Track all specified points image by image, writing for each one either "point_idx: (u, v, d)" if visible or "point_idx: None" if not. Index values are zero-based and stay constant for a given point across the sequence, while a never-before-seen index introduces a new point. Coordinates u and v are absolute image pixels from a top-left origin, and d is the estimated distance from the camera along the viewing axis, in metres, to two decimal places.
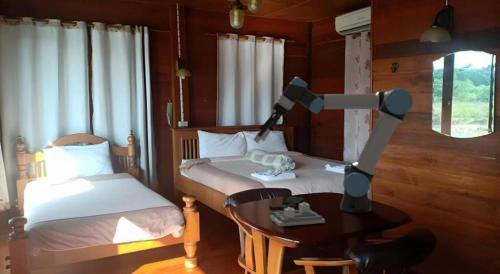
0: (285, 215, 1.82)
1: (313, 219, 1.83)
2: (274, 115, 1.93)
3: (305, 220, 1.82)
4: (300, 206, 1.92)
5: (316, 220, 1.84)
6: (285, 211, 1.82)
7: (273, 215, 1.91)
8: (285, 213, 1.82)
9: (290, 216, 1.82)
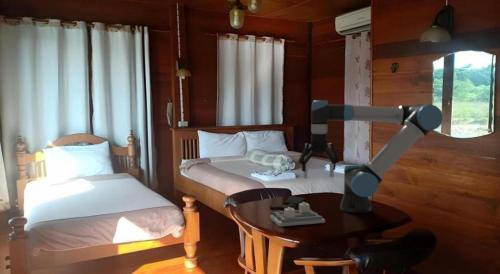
0: (285, 215, 1.82)
1: (313, 219, 1.83)
2: (305, 145, 1.90)
3: (305, 220, 1.82)
4: (300, 206, 1.92)
5: (316, 220, 1.84)
6: (285, 211, 1.82)
7: (273, 215, 1.91)
8: (285, 213, 1.82)
9: (290, 216, 1.82)
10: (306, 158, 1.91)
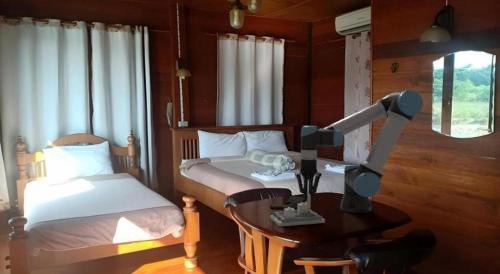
0: (285, 215, 1.82)
1: (313, 219, 1.83)
2: (296, 175, 1.90)
3: (305, 220, 1.82)
4: (298, 206, 1.91)
5: (316, 220, 1.84)
6: (285, 211, 1.82)
7: (273, 215, 1.91)
8: (285, 213, 1.82)
9: (290, 216, 1.82)
10: (304, 188, 1.91)
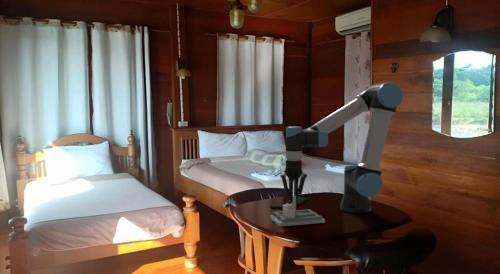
0: (285, 215, 1.82)
1: (313, 219, 1.83)
2: (281, 177, 1.88)
3: (305, 220, 1.82)
4: (284, 207, 1.90)
5: (316, 220, 1.84)
6: (285, 211, 1.82)
7: (273, 215, 1.91)
8: (285, 213, 1.82)
9: (290, 216, 1.82)
10: (290, 189, 1.89)
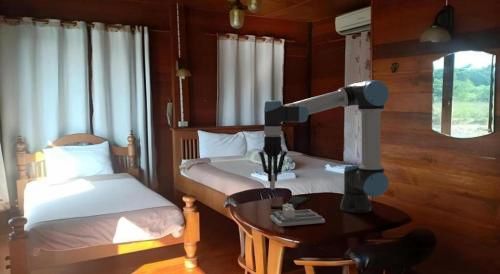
0: (285, 215, 1.82)
1: (313, 219, 1.83)
2: (259, 154, 1.77)
3: (305, 220, 1.82)
4: (284, 207, 1.90)
5: (316, 220, 1.84)
6: (285, 211, 1.82)
7: (273, 215, 1.91)
8: (285, 213, 1.82)
9: (290, 216, 1.82)
10: (268, 167, 1.79)
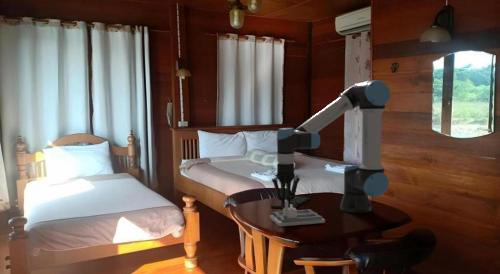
0: None
1: (313, 219, 1.83)
2: (272, 181, 1.80)
3: (305, 220, 1.82)
4: None
5: (316, 220, 1.84)
6: None
7: (273, 215, 1.91)
8: None
9: (292, 216, 1.82)
10: (282, 194, 1.81)
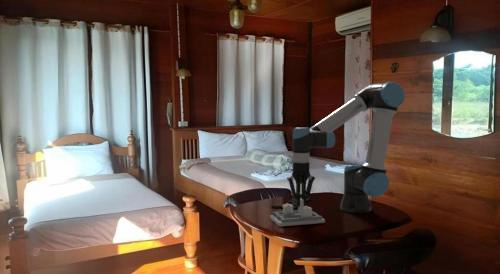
0: (302, 214, 1.85)
1: (313, 219, 1.83)
2: (288, 180, 1.82)
3: (305, 220, 1.82)
4: (284, 207, 1.90)
5: (316, 220, 1.84)
6: None
7: (273, 215, 1.91)
8: None
9: (307, 215, 1.84)
10: (297, 192, 1.83)
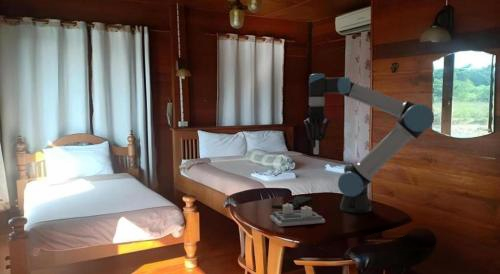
0: (302, 214, 1.85)
1: (313, 219, 1.83)
2: (305, 122, 1.97)
3: (305, 220, 1.82)
4: (284, 207, 1.90)
5: (316, 220, 1.84)
6: (302, 210, 1.84)
7: (273, 215, 1.91)
8: (302, 212, 1.84)
9: (307, 215, 1.84)
10: (313, 134, 1.98)
